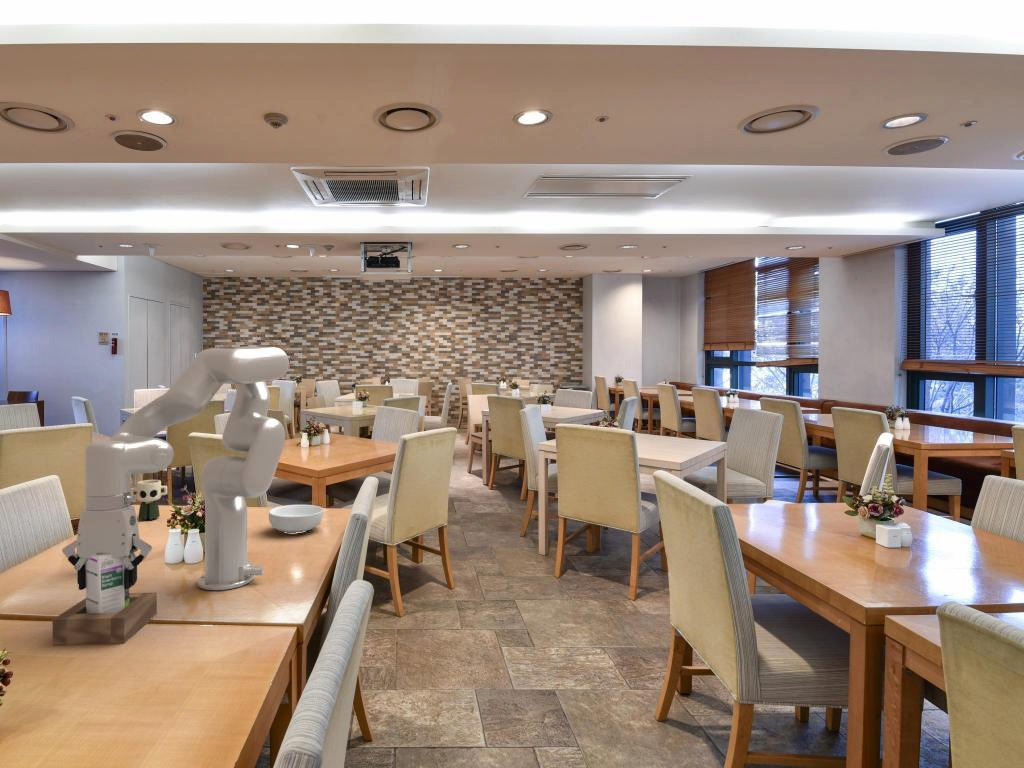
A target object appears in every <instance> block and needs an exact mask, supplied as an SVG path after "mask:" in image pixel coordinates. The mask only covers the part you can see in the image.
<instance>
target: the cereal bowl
mask: <svg viewBox="0 0 1024 768" xmlns="http://www.w3.org/2000/svg"><path fill="white" fill-rule="evenodd" d="M323 516H324V508H323V507H321V506H319V505H313V504H287V505H281V506H277V507H273V508H271V509H270V510H269V511H268V520H269V524H270V525H271V526H272V527H273V528H274V529H275V530H278V531H280V532H282V533H283V532H287V533H296V532H303V531H307V530H309V531H310V530H313V529H314V528H317V527H318V526H319V525H320V524H321V522H322V520H323Z"/></svg>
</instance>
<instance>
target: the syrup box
mask: <svg viewBox="0 0 1024 768" xmlns="http://www.w3.org/2000/svg"><path fill="white" fill-rule="evenodd" d="M85 565H86V588H85V598H86V614H89V613H118V612H120V611H121V610H122V609H124V608H125V607H126V606H128V605H129V593H130V588H129V589H124V570H126V569H127V567H126V566H125V564H124V563H123V561H122V560H121V559H114V558H112V556H111V555H107V554H93V556H91V558H90V559H87V561H86V563H85Z"/></svg>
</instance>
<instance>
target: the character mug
mask: <svg viewBox="0 0 1024 768" xmlns="http://www.w3.org/2000/svg"><path fill="white" fill-rule="evenodd" d="M162 490H163V492H162ZM134 491H136V494H135V493H134ZM130 492H131V496H136V500H137V501H138V502H141V503H140V504H139V509H138V516H137V519H138V520H140V521H146V520H147V519H149V520H154V519H157V518H159V517H160V516H161V515H160V508H159V503H158V500H160V499H161V497H162V496H166V495H168V485H162V481H161V480H160V479H146V480H140V481H137V482H136V487H130Z"/></svg>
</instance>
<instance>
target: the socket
mask: <svg viewBox="0 0 1024 768" xmlns="http://www.w3.org/2000/svg"><path fill="white" fill-rule="evenodd" d="M157 595H158V594H157V591H156V592H155V591H153V592H152V591H151V592H129V605H128V606H126V607H125V608H124V609H122V610H121V611H120V612H118V613H89V614H86V597H85V598H84V599H82V600H80V601H79V602H77V603H76V604H74V605H72V606H71V607H70V608H68V609H66V610H65V611H64V612H62V613H60V614H59V615H57V616H56V617H55V618H53V619H52V646H65V645H66V646H68V645H69V646H70V645H71V646H73V645H74V646H75V645H103V644H102V643H104V645H105V644H107V645H109V643H113V644H125V643H127V641H129V640H130V639H131V638H132V637H134V635H136V634H137V633H138V632H139V631H140V630H142V629H143V628H144V627H145V626H146V625H147V624H148V623H150V622H151V621H152V620H151V618H153V617H154V616H155V615H156V614H158V609H157V606H158V604H157V603H158V596H157ZM156 616H157V615H156ZM156 616H155V617H156ZM155 617H154V618H155ZM154 618H153V619H154ZM128 639H129V640H128Z"/></svg>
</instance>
